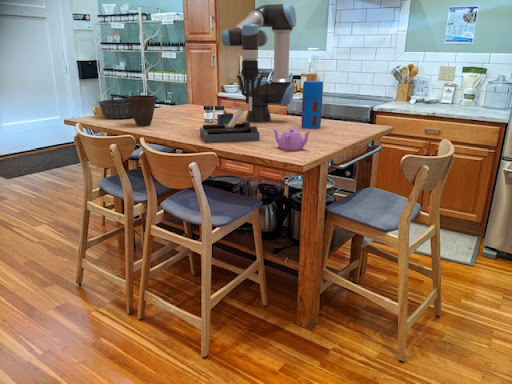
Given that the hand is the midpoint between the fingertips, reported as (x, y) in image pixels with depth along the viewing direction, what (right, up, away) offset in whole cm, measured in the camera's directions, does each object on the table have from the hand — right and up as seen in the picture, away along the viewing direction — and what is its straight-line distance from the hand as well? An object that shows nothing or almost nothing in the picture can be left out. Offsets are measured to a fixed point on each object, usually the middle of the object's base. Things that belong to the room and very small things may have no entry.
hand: (249, 110), depth 201 cm
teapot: (+18, -21, -17) cm, 33 cm away
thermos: (+34, -3, +32) cm, 47 cm away
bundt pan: (-82, +7, +60) cm, 101 cm away
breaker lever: (-10, -9, 0) cm, 14 cm away
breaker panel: (-10, -13, +2) cm, 17 cm away
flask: (-14, -7, +21) cm, 26 cm away
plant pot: (-60, -2, +32) cm, 68 cm away
